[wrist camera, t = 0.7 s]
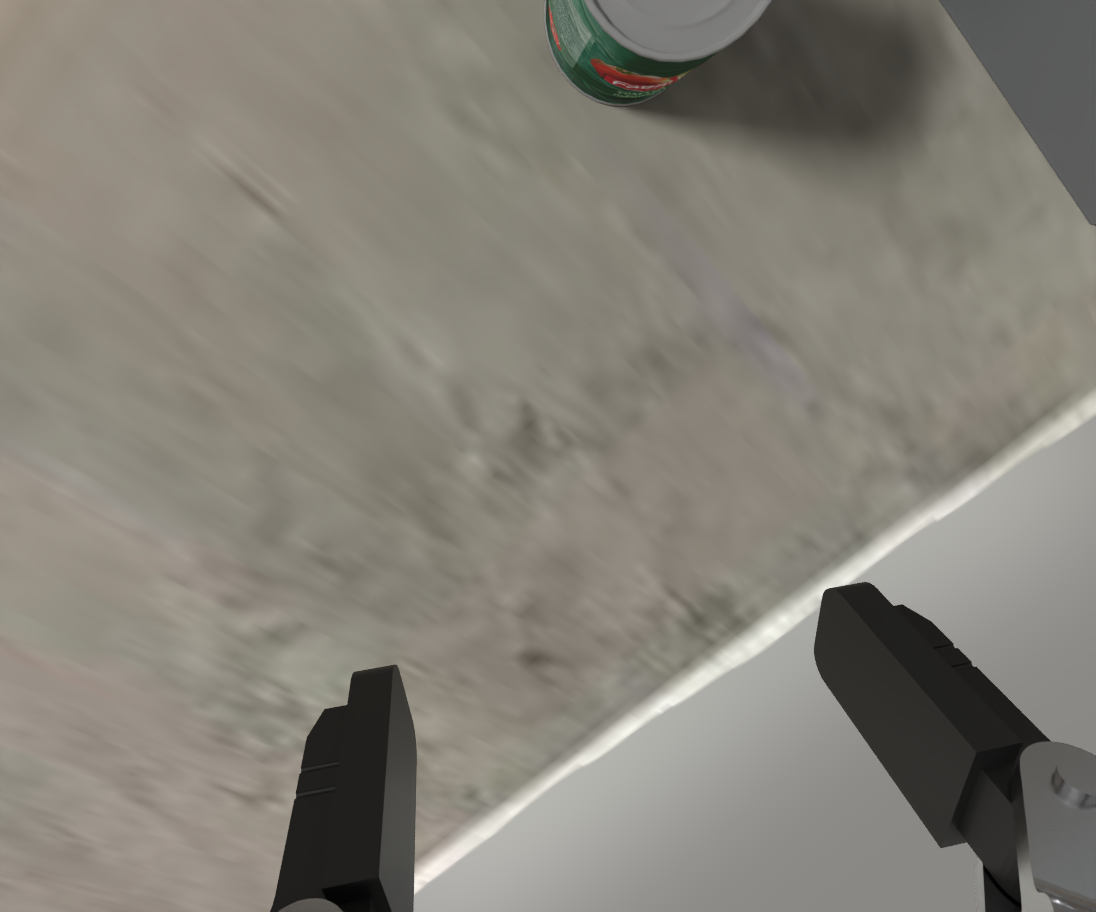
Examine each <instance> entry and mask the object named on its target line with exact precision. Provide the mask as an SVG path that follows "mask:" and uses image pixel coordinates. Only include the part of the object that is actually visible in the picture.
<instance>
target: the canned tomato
mask: <svg viewBox="0 0 1096 912" xmlns="http://www.w3.org/2000/svg"><path fill="white" fill-rule="evenodd" d="M771 2H772V0H545V1H544V25H545V32H546V39H547V42H548V45H549V49H550V52H551V55H552V57H553V59H554V61H555V63H556V65H557V67H558V69H559V70H560V72H561V73H562V75H563V76H564V77H565V78H566V80H567V81H568V82H569V83H570V85H572V86H573V87H574V88H575V89H576V90H578V91H579V92H580V93H581V94H582V95H584V96H586V97H588V98H590V99H592V100H594V101H596V102H599V103H603V104H606V105H610V106H629V105H634V104H640V103H642V102H645V101H647V100H650V99H652V98H654V97H656V96H657V95H659V94H660V93H662V92H663V91H664V90H666V89H667V88H668V87H669V86H670V85H672V84H673V83H675V82H676V81H678V80H679V79H681V78H682V77H683V76H685V75H686V74H688V73H689V72H690V71H692V70H693V69H695V68H696V67H698V66H699V65H701V64H702V63H703V62H705V61H706V60H708V59H709V58H711V57H712V56H713V55H715V54H716V53H718V52H719V51H721V50H723V49H725V48H726V47H728V46H729V45H731V44H732V43H733V42H735V41H736V40H738V39H739V38H741V37H742V36H743V35H744V34H745V33H746V32H747V31H748V30H749V29H750V28H751V27H752V26H753V25H754V24H755V23H756V22H757V21H758V20H759V19H760V17H761V16H762V15H763V13H764V12H765V10H766V9H767V7H768V6H769V5H770V3H771Z"/></svg>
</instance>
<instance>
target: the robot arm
mask: <svg viewBox="0 0 1096 912" xmlns="http://www.w3.org/2000/svg"><path fill="white" fill-rule="evenodd" d="M814 655H815V661H816V665H817V667H818V670H819V672H820V675H821V677H822V679H823V680H824V682H825V683H826V685H827V686H828V688H829V689H830V691H831V692H832V693H833V695H834V696H835V697H836V699H837V701H838V702H839V703H840V705H841V706H842V708H843V709H844V711H845V712H846V713H847V715H848V716H849V718H850V719H851V721H852V722H853V723H854V725H855V726H856V728H857V729H858V731H859V732H860V733H861V735H862V736H863V738H864V739H865V741H866V742H867V743H868V745H869V746H870V748H871V749H872V751H873V752H874V753H875V755H876V756H877V758H878V759H879V761H880V762H881V763H882V765H883V766H884V768H885V769H886V771H887V772H888V773H889V775H890V776H891V778H892V779H893V781H894V782H895V783H896V785H897V786H898V788H899V789H900V791H901V792H902V794H903V795H904V796H905V798H906V799H907V801H908V802H909V804H910V805H911V806H912V808H913V809H914V811H915V812H916V813H917V814H918V816H919V818H920V819H921V821H922V822H923V824H924V825H925V826H926V828H927V829H928V831H929V832H930V834H931V835H932V836H933V838H934V839H935V841H936V842H937V843H938V845H939V846H940V848H943V847H948V846H953V845H957V844H961V843H965V842H967V843H968V844H969V845H970V847H971V848H972V849H973V851H974V852H975V853H976V855H977V856H978V858H977V860H976V863H975V895H976V912H1096V755H1093V754H1092V753H1090V752H1088V751H1085V750H1083V749H1081V748H1078V747H1075V746H1072V745H1069V744H1064V743H1059V742H1051V741H1050V740H1049V739H1048V738H1047V737H1046V736H1045V735H1044V734H1043V733H1042V732H1041V731H1040V730H1039V729H1038V728H1037V727H1035V725H1034V724H1033V723H1032V722H1031V721H1030V720H1029V719H1028V718H1027V717H1026V716H1025V715H1024V714H1023V713H1022V712H1021V711H1020V710H1019V709H1018V708H1017V707H1016V706H1015V705H1014V704H1013V703H1012V702H1011V701H1010V700H1009V699H1008V698H1007V697H1006V696H1005V695H1004V694H1003V693H1002V692H1001V691H1000V690H999V689H998V688H997V687H996V686H995V685H994V684H993V683H992V682H991V681H990V680H989V679H988V678H987V677H986V676H985V675H984V674H983V673H982V672H981V671H980V670H979V669H978V668H977V667H973V666H972V663H971V661H970V660H969V659H968V658H967V657H966V656H965V655H964V654H963V653H962V652H961V651H960V650H959V649H958V648H956V649H955V648H954V646H953V643H952V642H951V641H950V640H949V639H948V638H947V637H946V636H945V635H944V634H943V633H942V632H941V631H940V630H939V629H938V628H937V627H936V626H935V625H934V624H933V623H932V622H931V621H929V620H928V619H926V618H924V617H923V616H921V615H919V614H917V613H916V612H914V611H912V610H911V609H909V608H907V607H905V606H904V605H897V606H893V605H892V604H891V603H890V602H889V601H888V600H887V599H886V598H885V597H884V596H883V595H882V593H880V591H879V590H878V589H877V588H876V587H875V586H874V585H872V584H870V583H868V582H862V583H857V584H851V585H846V586H840V587H834V588H829V589H827V590H825V592H824V593H823V596H822V602H821V608H820V614H819V620H818V626H817V632H816V638H815V645H814ZM416 766H417V751H416V738H415V730H414V724H413V720H412V716H411V712H410V709H409V705H408V701H407V698H406V694H405V690H404V686H403V683H402V679H401V675H400V672H399V669H398V666H397V665H390V666H385V667H379V668H374V669H368V670H362V671H357V672H354V673H353V675H352V678H351V683H350V690H349V697H348V704H347V705H345V706H339V707H334V708H329V709H324V711H323V713H322V714H321V716H320V717H319V719H318V721H317V722H316V724H315V725H314V727H313V729H312V730H311V732H310V733H309V735H308V737H307V740H306V745H305V750H304V755H303V760H302V765H301V774H300V775H299V780H298V785H297V790H296V799H295V800H294V805H293V810H292V815H291V820H290V825H289V830H288V835H287V840H286V845H285V850H284V855H283V860H282V865H281V870H280V875H279V880H278V885H277V890H276V895H275V898H274V902H273V906H272V908H271V911H270V912H413V902H414V901H413V900H414V857H415V811H416Z"/></svg>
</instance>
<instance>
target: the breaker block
mask: <svg viewBox="0 0 1096 912" xmlns="http://www.w3.org/2000/svg"><path fill="white" fill-rule="evenodd" d="M939 1H940V2H941V4H942V5H943V7H944V8H945V10H946V11H947V13H948V14H949V16H950V17H951V18H952V20H953V21H954V23H955V24H956V26H957V27H958V29H959V30H960V32H961V33H962V35H963V36H964V38H965V39H966V41H967V42H968V44H969V45H970V47H971V48H972V50H973V51H974V53H975V54H976V56H977V57H978V58H979V60H980V61H981V63H982V64H983V66H984V67H985V69H986V70H987V72H988V73H989V75H990V76H991V78H992V79H993V81H994V82H995V84H996V85H997V87H998V88H999V90H1000V91H1001V93H1002V94H1003V96H1004V97H1005V98H1006V100H1007V101H1008V103H1009V104H1010V106H1011V107H1012V109H1013V110H1014V112H1015V113H1016V115H1017V116H1018V118H1019V119H1020V121H1021V122H1022V124H1023V125H1024V127H1025V128H1026V130H1027V131H1028V133H1029V134H1030V136H1031V137H1032V139H1033V140H1034V141H1035V143H1036V144H1037V146H1038V147H1039V149H1040V150H1041V152H1042V153H1043V155H1044V156H1045V158H1046V159H1047V161H1048V162H1049V164H1050V165H1051V167H1052V168H1053V170H1054V171H1055V173H1056V174H1057V176H1058V177H1059V179H1060V180H1061V181H1062V183H1063V184H1064V186H1065V187H1066V189H1067V190H1068V192H1069V193H1070V195H1071V196H1072V198H1073V199H1074V201H1075V202H1076V204H1077V205H1078V207H1079V208H1080V210H1081V211H1082V213H1083V214H1084V216H1085V217H1086V219H1087V220H1088V222H1089V223H1090V224H1096V0H939Z"/></svg>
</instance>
